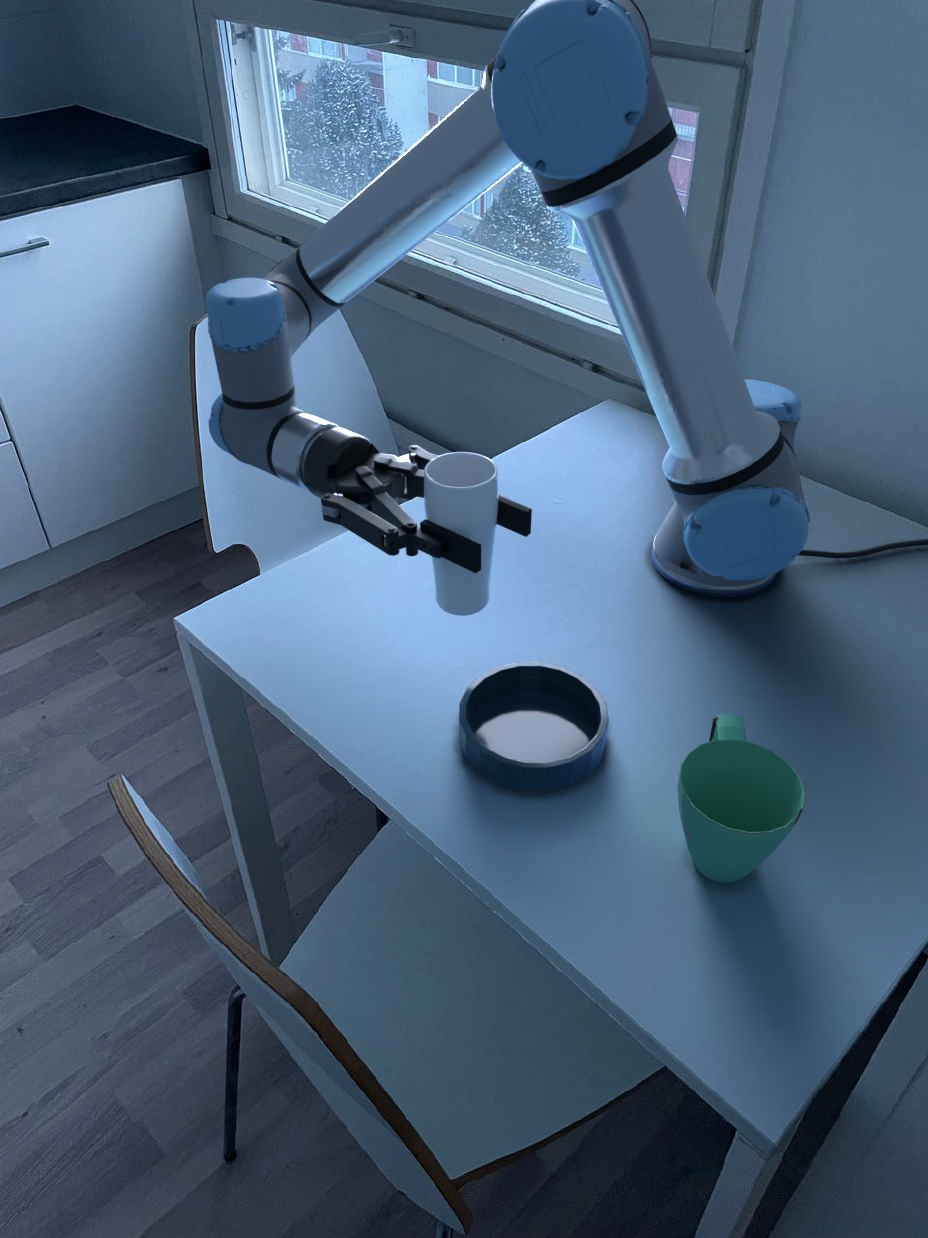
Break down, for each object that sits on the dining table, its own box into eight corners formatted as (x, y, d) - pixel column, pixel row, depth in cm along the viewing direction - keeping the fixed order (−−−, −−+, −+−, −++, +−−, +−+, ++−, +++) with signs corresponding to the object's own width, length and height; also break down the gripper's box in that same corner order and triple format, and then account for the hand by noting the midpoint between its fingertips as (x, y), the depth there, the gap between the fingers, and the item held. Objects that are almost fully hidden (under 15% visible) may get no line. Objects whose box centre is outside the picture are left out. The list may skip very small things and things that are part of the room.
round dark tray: (597, 687, 94) (600, 661, 92) (612, 793, 83) (616, 768, 81) (461, 686, 95) (460, 661, 92) (458, 793, 83) (457, 767, 81)
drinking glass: (473, 631, 85) (473, 496, 76) (415, 608, 88) (408, 476, 78) (508, 594, 90) (512, 462, 80) (451, 574, 92) (449, 444, 83)
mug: (786, 915, 73) (815, 839, 67) (665, 902, 74) (682, 827, 68) (763, 778, 84) (786, 703, 78) (658, 769, 85) (672, 694, 79)
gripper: (394, 457, 100) (564, 528, 89) (259, 533, 88) (434, 626, 77) (390, 394, 95) (569, 461, 84) (246, 466, 84) (431, 555, 72)
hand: (504, 540), depth 80 cm, fingers closed on drinking glass, 7 cm apart
